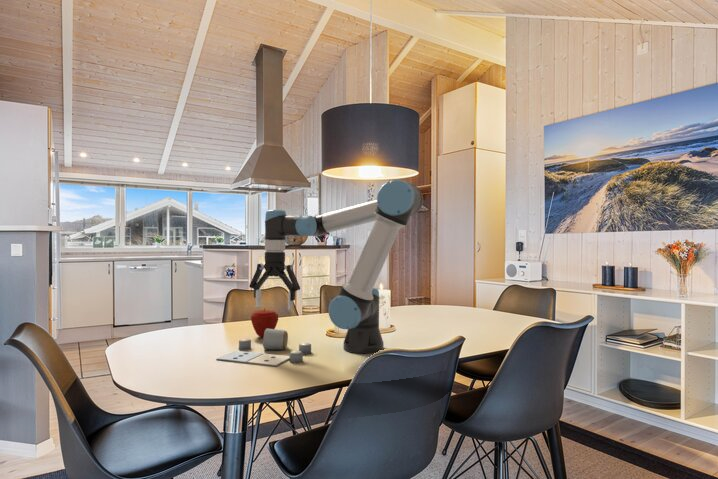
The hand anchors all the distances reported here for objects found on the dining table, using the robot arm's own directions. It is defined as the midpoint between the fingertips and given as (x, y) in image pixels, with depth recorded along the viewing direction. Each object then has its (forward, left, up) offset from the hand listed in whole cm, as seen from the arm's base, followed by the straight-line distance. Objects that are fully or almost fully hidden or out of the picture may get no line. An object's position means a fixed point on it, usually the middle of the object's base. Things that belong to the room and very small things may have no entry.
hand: (274, 308), depth 166 cm
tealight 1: (+11, +3, -15) cm, 19 cm away
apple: (+14, -16, -15) cm, 26 cm away
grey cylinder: (0, -1, -16) cm, 16 cm away
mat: (-1, +14, -15) cm, 21 cm away
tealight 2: (-15, +12, -15) cm, 25 cm away
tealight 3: (-13, +1, -15) cm, 20 cm away
